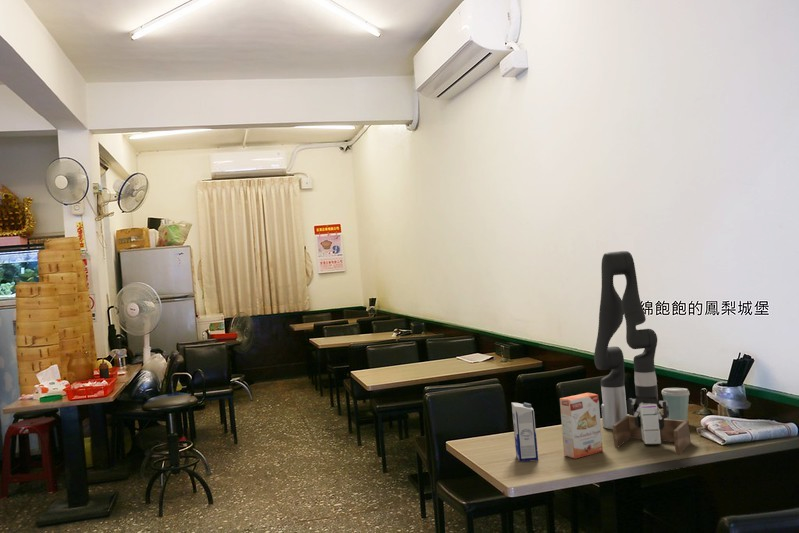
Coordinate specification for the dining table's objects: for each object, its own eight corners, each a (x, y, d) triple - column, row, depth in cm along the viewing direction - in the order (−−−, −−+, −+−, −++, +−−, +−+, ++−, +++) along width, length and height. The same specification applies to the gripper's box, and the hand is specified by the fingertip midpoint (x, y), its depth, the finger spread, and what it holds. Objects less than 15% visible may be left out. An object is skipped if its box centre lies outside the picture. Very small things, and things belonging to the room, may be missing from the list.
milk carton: (516, 456, 214) (511, 401, 215) (534, 454, 214) (529, 400, 215) (519, 461, 207) (514, 405, 208) (538, 460, 207) (533, 404, 208)
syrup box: (661, 443, 210) (658, 403, 211) (644, 444, 212) (640, 404, 212) (657, 439, 216) (654, 400, 216) (641, 439, 217) (637, 400, 218)
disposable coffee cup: (660, 422, 243) (657, 386, 244) (687, 421, 242) (684, 384, 242) (668, 428, 233) (665, 391, 233) (697, 427, 231) (693, 389, 232)
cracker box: (575, 459, 205) (570, 400, 205) (563, 456, 210) (558, 397, 211) (604, 451, 211) (599, 393, 212) (592, 448, 216) (586, 391, 217)
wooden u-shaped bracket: (614, 446, 215) (612, 425, 216) (628, 436, 227) (626, 415, 227) (679, 454, 201) (677, 431, 201) (690, 442, 213) (688, 420, 213)
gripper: (669, 382, 213) (673, 427, 212) (629, 380, 222) (633, 423, 221) (663, 386, 207) (667, 432, 207) (622, 384, 216) (626, 428, 216)
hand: (649, 427), depth 214 cm, fingers closed on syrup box, 7 cm apart
